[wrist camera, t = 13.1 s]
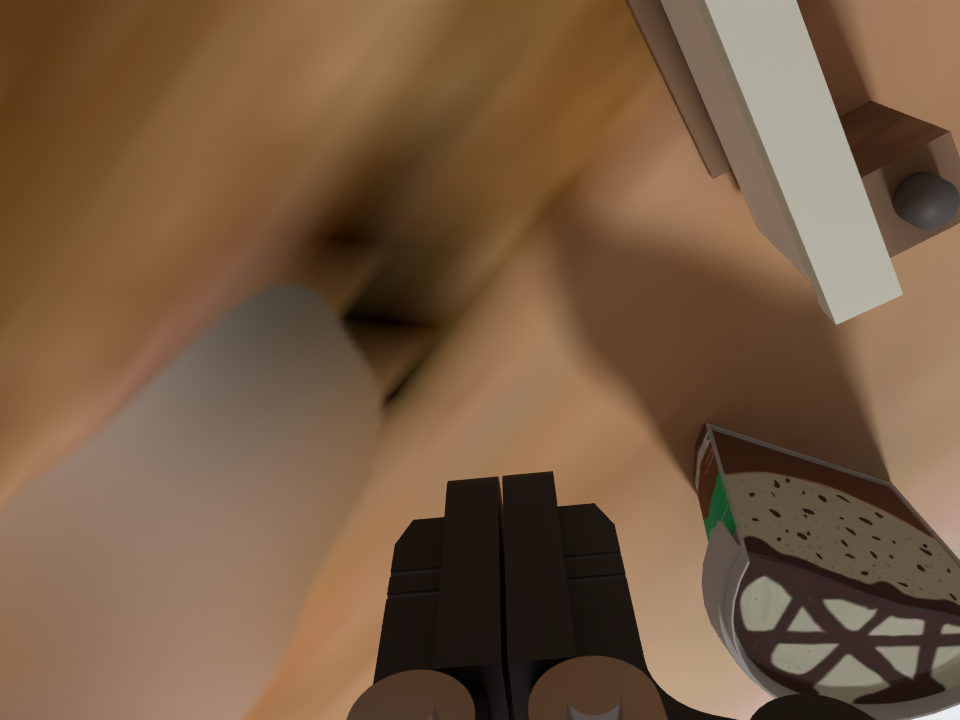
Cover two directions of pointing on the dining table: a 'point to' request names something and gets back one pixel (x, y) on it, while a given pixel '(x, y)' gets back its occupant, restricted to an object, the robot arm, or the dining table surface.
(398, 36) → the dining table surface
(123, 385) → the dining table surface
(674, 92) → the sill
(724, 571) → the food container
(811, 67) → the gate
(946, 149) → the latch post
